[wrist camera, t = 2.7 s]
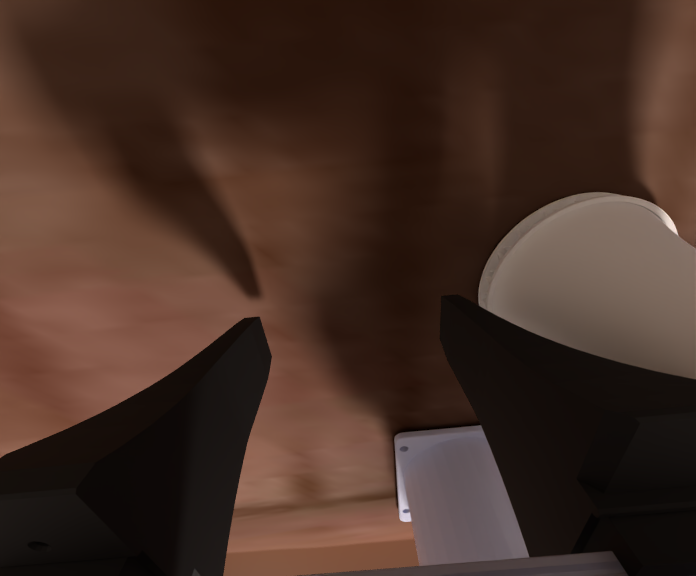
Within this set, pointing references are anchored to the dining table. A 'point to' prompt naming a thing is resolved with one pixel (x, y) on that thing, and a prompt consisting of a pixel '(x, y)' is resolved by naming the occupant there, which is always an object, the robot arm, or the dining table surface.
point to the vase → (600, 281)
